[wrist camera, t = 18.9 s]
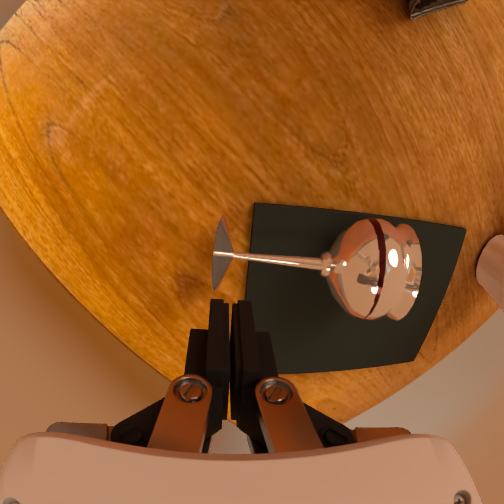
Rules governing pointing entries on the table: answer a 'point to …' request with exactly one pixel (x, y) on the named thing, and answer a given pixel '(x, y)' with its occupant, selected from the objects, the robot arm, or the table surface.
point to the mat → (321, 301)
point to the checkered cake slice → (430, 6)
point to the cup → (492, 269)
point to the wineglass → (351, 267)
